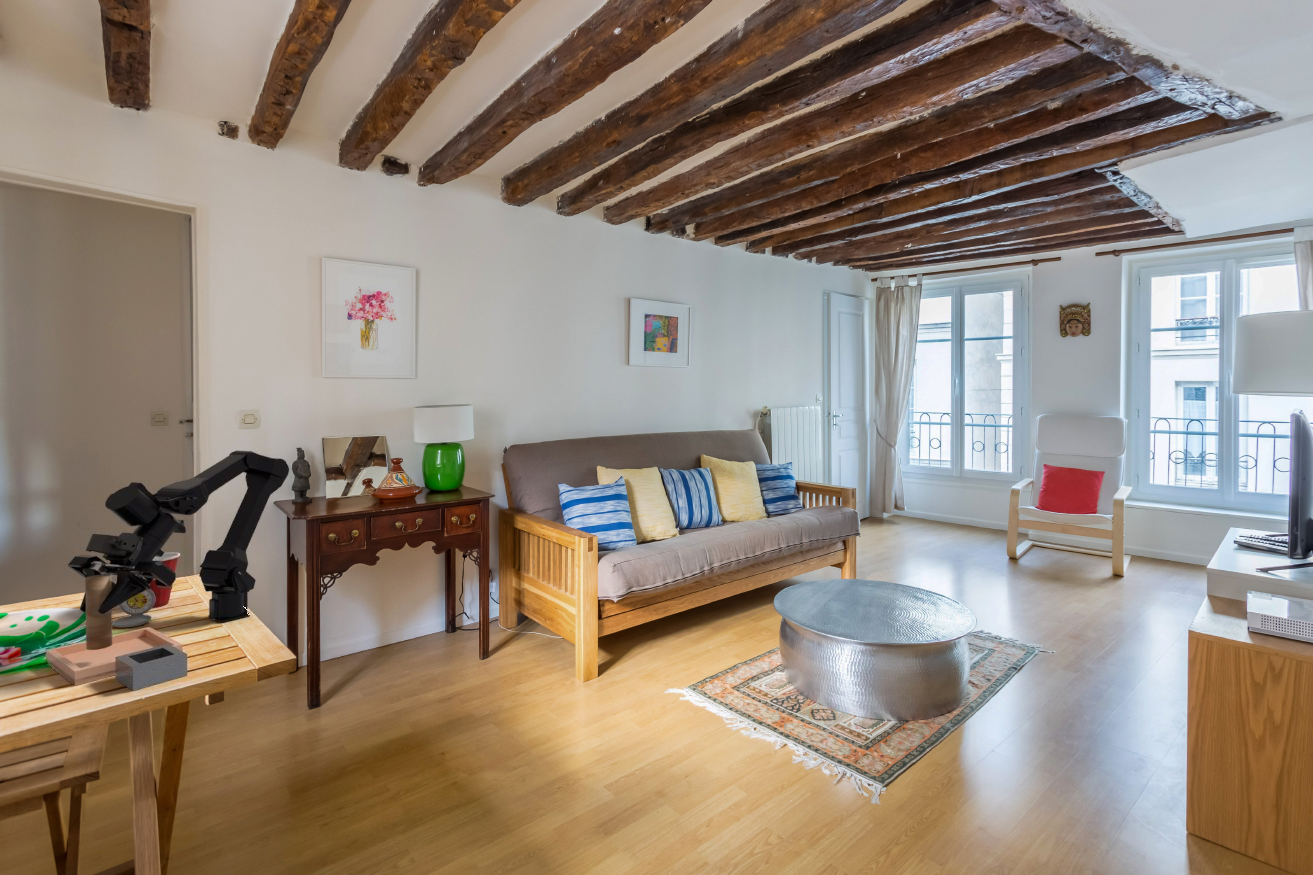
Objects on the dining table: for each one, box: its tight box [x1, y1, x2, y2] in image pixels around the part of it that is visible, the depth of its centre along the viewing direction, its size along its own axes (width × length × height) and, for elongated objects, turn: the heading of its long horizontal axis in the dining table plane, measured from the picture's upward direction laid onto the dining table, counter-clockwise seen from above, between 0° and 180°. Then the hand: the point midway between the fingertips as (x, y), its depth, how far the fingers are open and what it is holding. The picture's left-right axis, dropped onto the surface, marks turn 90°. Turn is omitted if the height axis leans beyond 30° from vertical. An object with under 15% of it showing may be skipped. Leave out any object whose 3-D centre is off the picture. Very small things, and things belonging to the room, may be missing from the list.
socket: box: [115, 644, 188, 692], centre depth 115 cm, size 8×8×4 cm
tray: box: [45, 626, 184, 687], centre depth 122 cm, size 16×16×2 cm
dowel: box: [84, 574, 113, 650], centre depth 118 cm, size 4×4×13 cm
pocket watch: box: [112, 589, 156, 628], centre depth 142 cm, size 8×8×10 cm
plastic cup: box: [138, 551, 181, 609], centre depth 154 cm, size 11×11×12 cm
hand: (91, 611), depth 117 cm, fingers closed on dowel, 4 cm apart
